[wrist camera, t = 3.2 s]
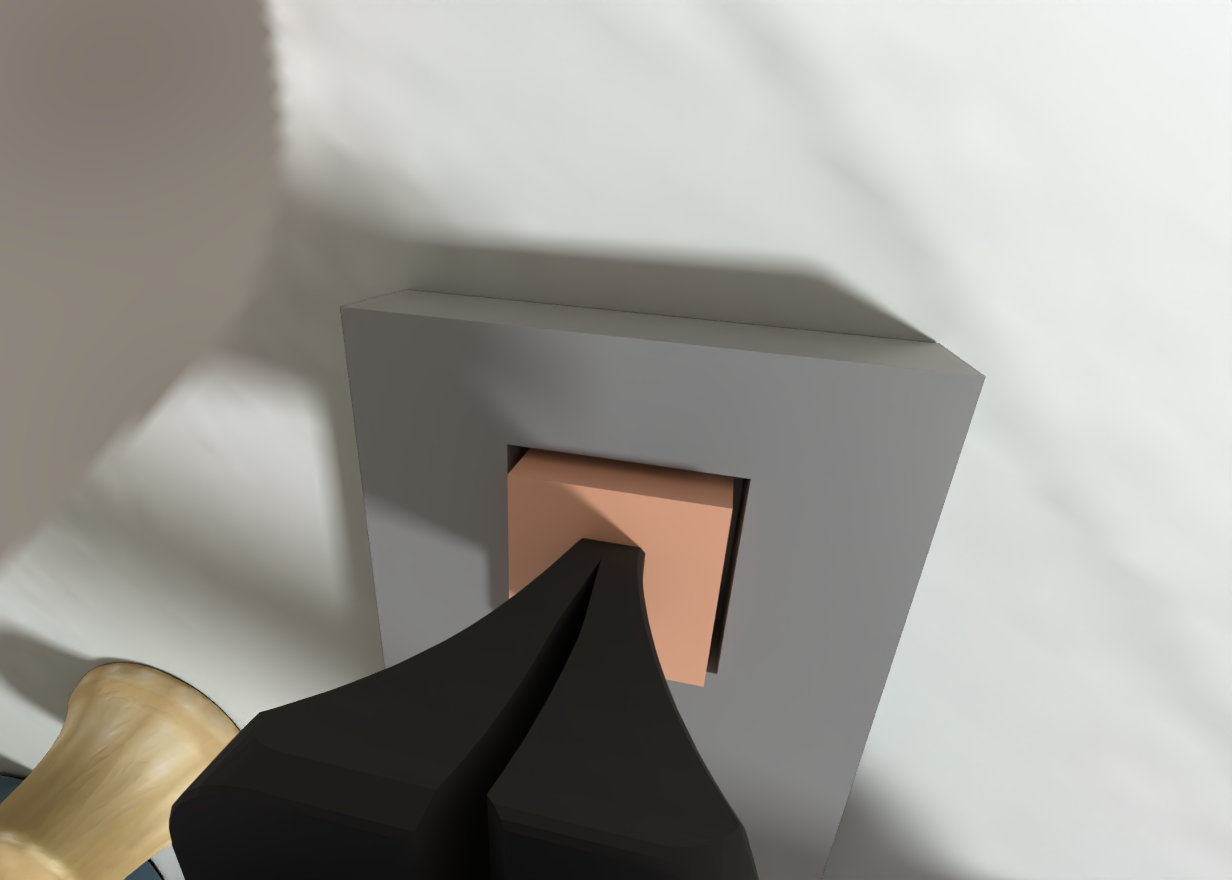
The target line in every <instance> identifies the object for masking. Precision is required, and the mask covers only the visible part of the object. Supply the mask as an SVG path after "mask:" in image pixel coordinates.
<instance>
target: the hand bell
mask: <svg viewBox="0 0 1232 880" xmlns="http://www.w3.org/2000/svg"><path fill="white" fill-rule="evenodd" d="M239 732H240V731H239V730H238V729H237V727H236V726H235V725H234V723H233V722H232V721H231V720H230V719H229V718H228V717H227V716H226V715H225V714H224V712H223V711H222V710H221V709H220V708H219V707H218V706H217V705H215V704H214V703H213V702H212V701H211V700H210V699H209V698H207V697H206V696H204V695H203V694H202V693H200V692H199V691H197V690H196V689H194V688H192V687H191V686H189V685H188V684H186V683H184V682H182V681H180V680H178V679H175V678H173V677H172V676H171V675H168V674H166V673H164V672H162V671H159V670H156V669H153V668H151V667H148V666H144V665H141V664H130V663H111V664H106V665H102V666H99V667H96V668H95V669H93V670H91V671H89V672H88V673H87V674H86V675H85V676H84V677H83V678H82V679H81V681H80V682H79V683H78V685H77V686H76V688H75V690H74V691H73V693H72V695H71V697H70V700H69V704H68V708H67V718H66V721H65V723H64V725H63V727H62V730H61V732H60V734H59V736H58V737H57V739H56V741H55V742H54V744H53V746H52V747H51V749H50V750H49V751H48V753H47V754H46V755H45V757H44V758H43V759H42V760H41V762H40V763H39V764H38V765H37V766H36V767H35V769H34V770H33V771H32V772H31V773H30V774H29V775H28V776H27V778H26V779H25V780H24V781H23V782H22V783H21V784H20V785H19V786H18V787H17V788H16V789H15V790H14V791H13V792H12V793H11V794H10V795H9V796H8V797H7V798H6V799H5V800H4V801H3V802H2V803H1V804H0V880H124V879H125V878H126V877H127V876H128V875H129V874H131V873H132V872H133V871H134V870H136V869H137V868H138V867H139V866H141V865H142V864H143V863H144V862H146V861H147V860H148V859H150V858H151V857H153V856H154V855H155V854H157V853H158V852H159V851H161V850H162V849H164V848H165V847H167V846H169V845H170V844H172V841H171V837H170V832H169V818H170V813H171V808H172V805H173V804H174V802H175V801H176V800H177V799H178V798H179V797H180V795H181V794H182V793H183V792H184V791H185V790H186V789H187V788H188V787H189V786H190V784H191V783H192V782H193V781H194V780H195V779H196V778H197V777H198V776H199V775H200V774H201V773H202V772H203V770H204V769H205V768H206V767H207V766H208V765H209V764H210V763H211V762H212V761H213V760H214V759H215V758H216V756H217V755H218V754H219V753H220V752H221V751H222V750H223V749H224V748H225V747H226V746H227V745H228V743H229V742H230V741H231V740H232V739H233V738H234V737H235V736H236V735H237V734H238V733H239Z"/></svg>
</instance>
